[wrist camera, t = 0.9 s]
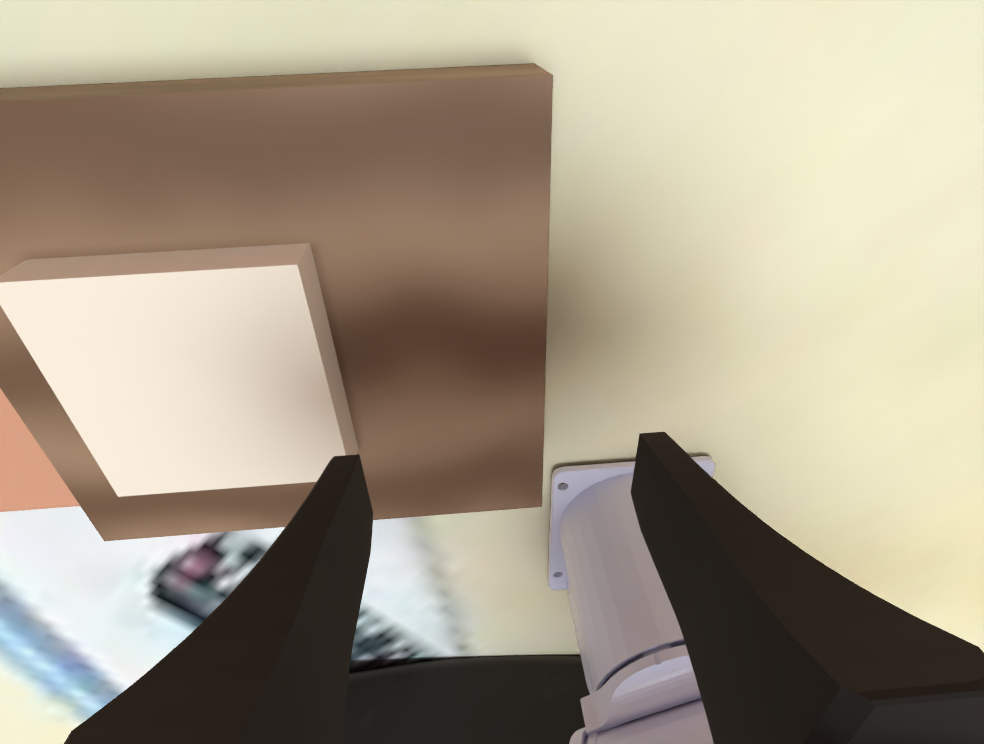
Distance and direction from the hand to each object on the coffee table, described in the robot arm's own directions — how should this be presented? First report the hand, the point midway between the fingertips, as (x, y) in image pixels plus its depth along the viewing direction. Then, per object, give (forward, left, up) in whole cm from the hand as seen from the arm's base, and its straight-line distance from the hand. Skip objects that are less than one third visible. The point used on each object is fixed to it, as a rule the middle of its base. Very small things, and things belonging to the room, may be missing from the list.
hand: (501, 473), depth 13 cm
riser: (0, +7, -9) cm, 12 cm away
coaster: (0, +9, -6) cm, 11 cm away
